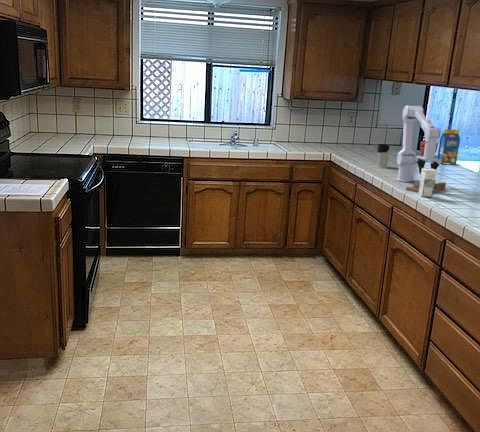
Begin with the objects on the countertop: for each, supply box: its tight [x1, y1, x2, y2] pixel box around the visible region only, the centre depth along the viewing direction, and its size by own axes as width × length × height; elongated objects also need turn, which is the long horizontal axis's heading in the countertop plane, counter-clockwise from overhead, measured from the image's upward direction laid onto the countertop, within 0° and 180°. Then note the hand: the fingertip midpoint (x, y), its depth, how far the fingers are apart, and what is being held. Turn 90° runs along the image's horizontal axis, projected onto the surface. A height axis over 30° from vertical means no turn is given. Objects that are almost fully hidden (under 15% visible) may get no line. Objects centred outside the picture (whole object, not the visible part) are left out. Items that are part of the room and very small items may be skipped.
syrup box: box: [417, 167, 437, 198], centre depth 270 cm, size 6×6×14 cm
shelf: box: [405, 181, 447, 194], centre depth 287 cm, size 22×10×4 cm, turn 127°
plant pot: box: [419, 140, 439, 157], centre depth 408 cm, size 13×13×12 cm
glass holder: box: [367, 143, 390, 169], centre depth 352 cm, size 9×14×15 cm, turn 78°
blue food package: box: [436, 128, 461, 165], centre depth 376 cm, size 6×12×25 cm, turn 101°
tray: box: [413, 178, 437, 188], centre depth 287 cm, size 12×5×5 cm, turn 127°
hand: (426, 174), depth 286 cm, fingers open, 6 cm apart
